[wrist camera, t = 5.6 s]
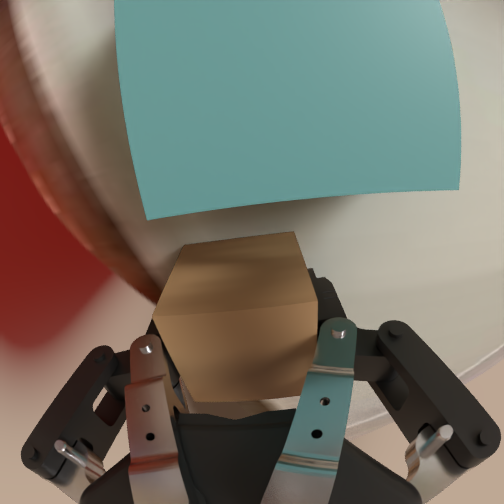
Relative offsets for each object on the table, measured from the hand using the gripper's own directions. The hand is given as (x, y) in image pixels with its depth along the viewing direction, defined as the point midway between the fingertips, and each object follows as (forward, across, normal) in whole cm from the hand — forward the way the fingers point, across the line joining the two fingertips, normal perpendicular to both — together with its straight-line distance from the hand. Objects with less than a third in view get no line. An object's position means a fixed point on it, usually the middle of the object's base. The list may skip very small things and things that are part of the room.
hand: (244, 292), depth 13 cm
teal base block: (+1, -3, -10) cm, 10 cm away
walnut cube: (+1, 0, 0) cm, 1 cm away
